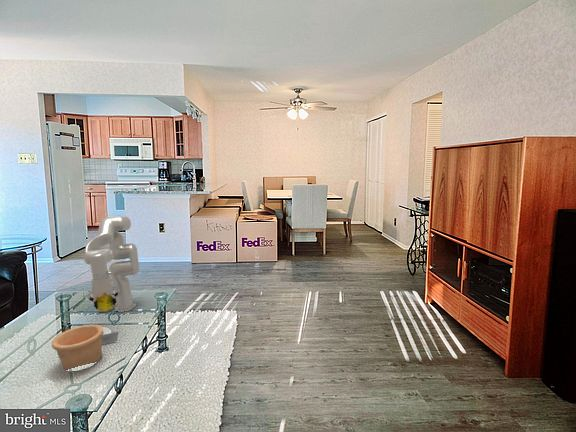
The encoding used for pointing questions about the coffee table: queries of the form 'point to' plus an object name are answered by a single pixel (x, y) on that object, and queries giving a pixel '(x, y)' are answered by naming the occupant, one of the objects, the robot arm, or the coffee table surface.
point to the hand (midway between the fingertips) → (105, 306)
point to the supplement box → (105, 303)
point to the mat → (109, 338)
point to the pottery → (79, 346)
